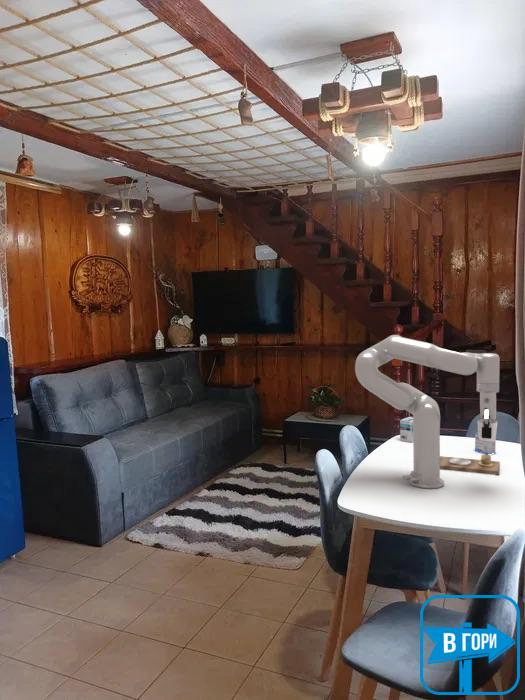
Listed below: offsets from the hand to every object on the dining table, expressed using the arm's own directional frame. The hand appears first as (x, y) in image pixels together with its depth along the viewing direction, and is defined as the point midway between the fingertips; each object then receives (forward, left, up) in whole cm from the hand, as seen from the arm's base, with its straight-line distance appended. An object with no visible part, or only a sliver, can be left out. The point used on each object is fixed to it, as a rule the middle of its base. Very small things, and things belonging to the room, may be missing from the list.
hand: (487, 435), depth 192 cm
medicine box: (+33, +37, -20) cm, 53 cm away
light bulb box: (+17, +70, -20) cm, 74 cm away
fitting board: (+11, +23, -19) cm, 32 cm away
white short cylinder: (0, 0, -2) cm, 2 cm away
